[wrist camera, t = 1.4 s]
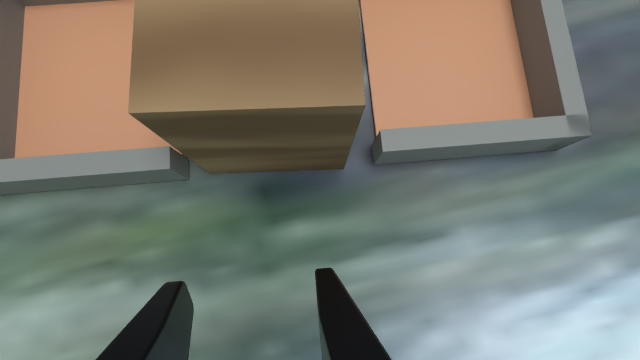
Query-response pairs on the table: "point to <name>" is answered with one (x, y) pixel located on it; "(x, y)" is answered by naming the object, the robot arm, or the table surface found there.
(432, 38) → the trap lane
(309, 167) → the walnut block
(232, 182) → the table surface
